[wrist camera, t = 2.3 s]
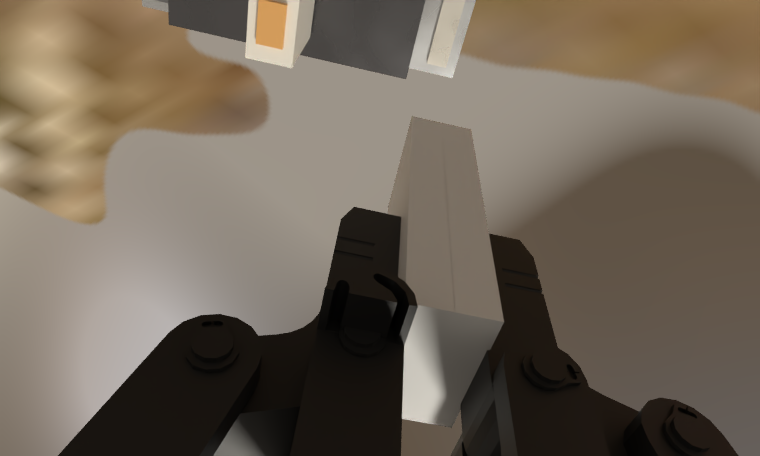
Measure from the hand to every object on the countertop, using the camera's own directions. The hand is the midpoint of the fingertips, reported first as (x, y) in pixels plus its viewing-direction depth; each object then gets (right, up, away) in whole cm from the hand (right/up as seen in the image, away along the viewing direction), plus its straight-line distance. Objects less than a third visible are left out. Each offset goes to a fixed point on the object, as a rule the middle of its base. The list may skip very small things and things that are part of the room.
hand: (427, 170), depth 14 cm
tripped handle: (-5, +8, +9) cm, 13 cm away
